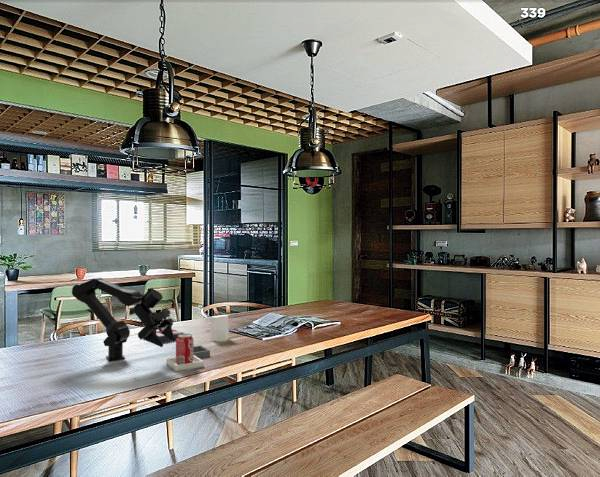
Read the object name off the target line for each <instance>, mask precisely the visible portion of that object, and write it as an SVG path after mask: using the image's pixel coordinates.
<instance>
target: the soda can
mask: <svg viewBox="0 0 600 477" xmlns="http://www.w3.org/2000/svg"><path fill="white" fill-rule="evenodd" d="M193 353H194V337H193V334H191V333H184V334H179V335H178V338H177V339H176V340H175V357H176V363H177V364H178V365H181V364H187V363H193Z"/></svg>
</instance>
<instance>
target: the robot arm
mask: <svg viewBox="0 0 600 477" xmlns="http://www.w3.org/2000/svg"><path fill="white" fill-rule="evenodd" d="M96 290H99V291H101V292H104V293H106V294H108V295H110V296H113V297H115V298H116V299H118V301H119V302H120V303H121V304H123V305H124V306H126V307H131V306H133V307H131V308H129V315H130V316H131V315H134V314H135V316H136V317H137V318H138V319H139V321H140V322H139V324H140V325H143V327H142V328H141V330H140V331H139V332H138V333H137V337H138V339H139V340H140V341H142V340H143V341H145V342H149V343H151V344H153V345H156V346H157V347H160V348H163V347H164V344H163V343H162V342H161V340H160V339H159V337H158V336H157V334H156V331H161V333H162V334H163V335H164V336H166V337H167V338H169V339H170V340H171V341H170V342H176V340H175V337H174V335H173V332H172V329H173V328H172V327H173V324H174V320H173V319H172V317H171V315H170V314H171V310H170V309H169V308H167V307H165V308H163V309H161V311H159V312H157V311H154V312H153V311H152V309H154V308H155V307H156V306H157V305H158V304H159V303H160V302H161V301H162V300H163V294H162V293H161V292H160V291H158V290H156V289H154V288H153V287H149V289H148V290H146V292H145V293H144V294H142V293H141V292H140V291H138V290H134V289H128V288H123V287H121V286H119V285H117V284H114V283H113V282H111V281H110V282H109V281H107V280H105V279H104V278H102V277H96V278H95V277H94V278H92V279H90V280H87V281H86V282H83V283H78V284H75V285H73V286H72V289H71V295H72V296H73V297H74V298H75V299H76V300H78V301H80V303H83V304H85V305H86V306H87V307H88V308H89V309H90V311H91V312H92V313H93V314H94V315H95V317H97V319H98V321H100V323H102V325H103V326H104V328H105V331H106V336H107V337H106V338H105V339H104V340H103V345H104V346H105V347H108V349H107V350H108V351H107V353H108V354H107V355H106V356H105V357H106V359H107V360H108V361H109V362H111V361H117V360H124V359H126V357H125V356H124V354H123V353H124V352H123V350H124V349H123V348H124V345H123V344H124V343H126V342H128V338H129V337H130V334H131V331H130V330H131V329H130V327H129V326H128V325H127V324H126V323H125V321H124V320H116V319H115V318H114V317H113V315H112V314H111V313H110V311H108V309H107V308H106V306H104V304H103V303H102V302H101V301H100V300H99V298H98V297H97V295H96V294H97V293H96Z"/></svg>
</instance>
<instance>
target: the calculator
mask: <svg viewBox="0 0 600 477" xmlns="http://www.w3.org/2000/svg"><path fill="white" fill-rule="evenodd" d="M172 332H173V335H174V337H175V341H176V339H177V338H178V335H179V334H185V333H184V332H183V331H180V330H176V329H173V328H172ZM156 334H157V336H158V337H159V339H160V340H161V342H162V344H163V343H167V342H172V341H171V340H170V339H169V338H167V337H166V336H164V335H163V334H162V333H161V331H159V330H156Z"/></svg>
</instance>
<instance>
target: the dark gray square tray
mask: <svg viewBox="0 0 600 477" xmlns="http://www.w3.org/2000/svg"><path fill="white" fill-rule="evenodd" d="M193 355H195V356H196V357H198V358H199V359H201V358H206V357H207V358H208V357H211V350H210V349H208V348H206V347H204V346H203V345H195V346H194V352H193Z"/></svg>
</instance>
